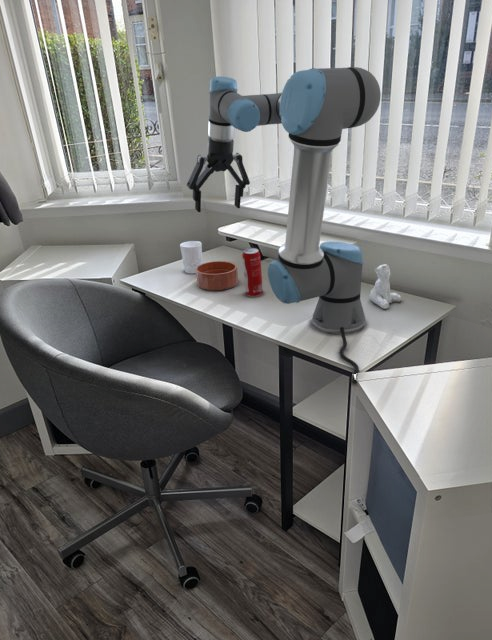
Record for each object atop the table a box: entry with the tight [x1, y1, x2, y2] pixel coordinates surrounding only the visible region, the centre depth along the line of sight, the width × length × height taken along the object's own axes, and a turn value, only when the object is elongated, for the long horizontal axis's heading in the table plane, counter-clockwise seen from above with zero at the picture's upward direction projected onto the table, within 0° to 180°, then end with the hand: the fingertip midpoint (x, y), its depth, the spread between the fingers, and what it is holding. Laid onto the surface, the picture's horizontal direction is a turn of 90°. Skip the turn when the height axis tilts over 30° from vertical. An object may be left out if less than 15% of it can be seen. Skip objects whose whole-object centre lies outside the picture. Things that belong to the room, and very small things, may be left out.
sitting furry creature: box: [369, 263, 402, 310], centre depth 167 cm, size 10×9×12 cm
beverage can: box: [241, 247, 264, 298], centre depth 175 cm, size 6×6×15 cm
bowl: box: [195, 260, 239, 292], centre depth 187 cm, size 14×14×6 cm
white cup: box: [179, 240, 204, 274], centre depth 199 cm, size 8×8×10 cm
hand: (217, 208), depth 172 cm, fingers open, 13 cm apart
